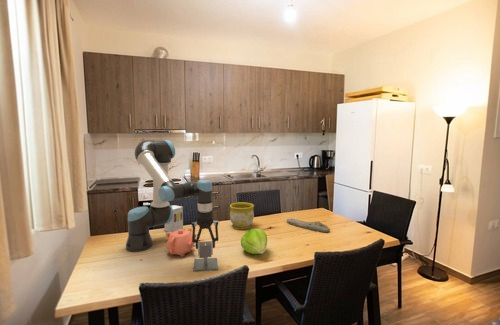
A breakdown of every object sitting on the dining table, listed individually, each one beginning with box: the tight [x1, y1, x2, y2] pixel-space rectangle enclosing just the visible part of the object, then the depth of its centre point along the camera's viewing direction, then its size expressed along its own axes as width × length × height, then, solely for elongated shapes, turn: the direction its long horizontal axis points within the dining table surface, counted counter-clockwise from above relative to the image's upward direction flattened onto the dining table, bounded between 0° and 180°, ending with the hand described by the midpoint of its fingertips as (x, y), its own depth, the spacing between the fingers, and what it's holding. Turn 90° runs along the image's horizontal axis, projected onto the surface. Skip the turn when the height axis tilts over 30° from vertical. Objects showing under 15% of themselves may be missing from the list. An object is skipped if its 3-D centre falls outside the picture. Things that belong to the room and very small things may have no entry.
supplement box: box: [164, 204, 184, 233], centre depth 192 cm, size 10×9×17 cm
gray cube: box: [198, 240, 212, 259], centre depth 139 cm, size 6×6×6 cm
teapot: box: [165, 228, 198, 258], centre depth 154 cm, size 16×17×14 cm
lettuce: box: [240, 228, 268, 255], centre depth 154 cm, size 15×20×14 cm
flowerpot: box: [229, 201, 255, 231], centre depth 199 cm, size 18×18×16 cm
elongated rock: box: [286, 217, 331, 233], centre depth 200 cm, size 35×5×10 cm
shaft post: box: [193, 257, 219, 272], centre depth 140 cm, size 12×12×5 cm
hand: (205, 254), depth 139 cm, fingers closed on gray cube, 6 cm apart
